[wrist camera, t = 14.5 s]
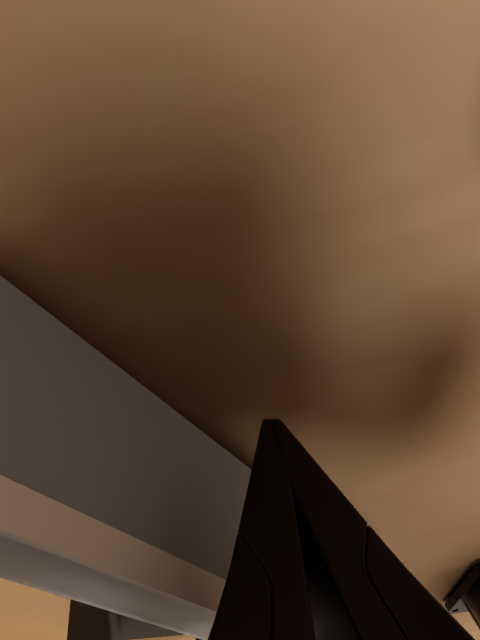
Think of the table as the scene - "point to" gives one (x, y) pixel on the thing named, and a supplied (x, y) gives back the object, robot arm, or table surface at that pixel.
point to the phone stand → (109, 625)
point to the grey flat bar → (107, 482)
